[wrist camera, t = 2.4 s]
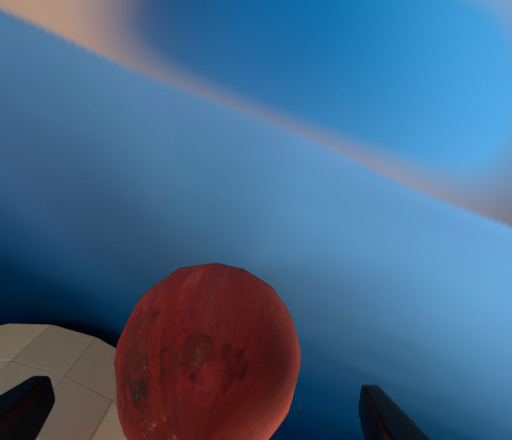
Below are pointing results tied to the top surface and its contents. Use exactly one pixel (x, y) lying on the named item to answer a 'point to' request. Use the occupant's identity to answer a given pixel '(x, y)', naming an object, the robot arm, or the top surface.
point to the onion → (206, 358)
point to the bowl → (65, 378)
